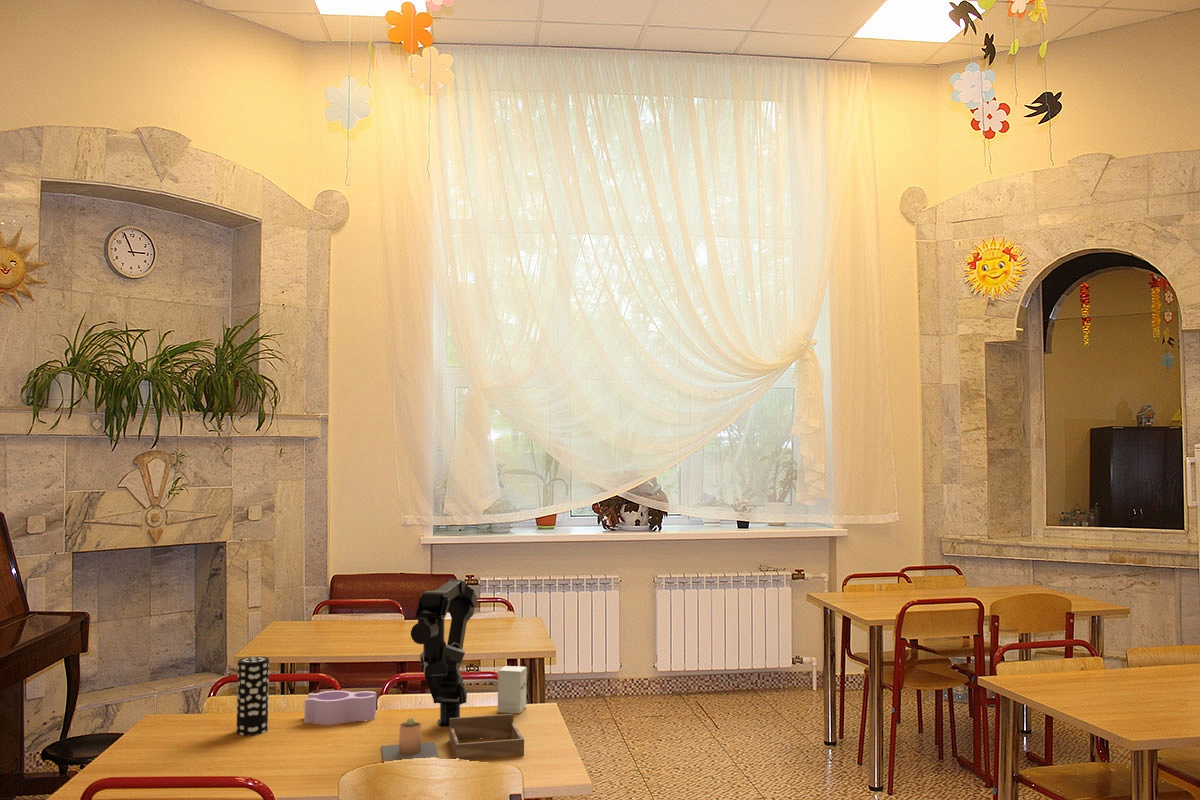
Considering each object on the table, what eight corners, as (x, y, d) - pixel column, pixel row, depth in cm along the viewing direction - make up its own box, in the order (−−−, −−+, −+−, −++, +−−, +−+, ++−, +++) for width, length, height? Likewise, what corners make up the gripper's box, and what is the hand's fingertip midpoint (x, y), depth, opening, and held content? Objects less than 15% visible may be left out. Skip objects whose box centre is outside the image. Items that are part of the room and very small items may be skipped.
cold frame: (449, 740, 258) (449, 718, 258) (512, 735, 262) (512, 713, 263) (456, 760, 241) (456, 736, 241) (524, 755, 245) (524, 731, 246)
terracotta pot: (398, 749, 249) (399, 716, 249) (419, 747, 250) (420, 714, 250) (399, 755, 243) (400, 721, 244) (421, 754, 245) (421, 720, 245)
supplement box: (520, 714, 284) (520, 671, 285) (496, 712, 286) (497, 670, 287) (527, 707, 292) (527, 666, 292) (504, 706, 293) (504, 665, 294)
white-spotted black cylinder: (229, 733, 264) (231, 661, 266) (251, 725, 272) (252, 655, 273) (253, 736, 261) (254, 664, 262) (274, 728, 269) (275, 658, 270)
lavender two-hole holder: (377, 712, 287) (377, 689, 288) (373, 723, 275) (373, 699, 275) (309, 714, 284) (309, 691, 285) (302, 726, 272) (303, 702, 272)
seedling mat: (381, 747, 251) (381, 745, 251) (434, 743, 255) (434, 741, 255) (383, 764, 238) (383, 762, 238) (439, 759, 242) (439, 757, 242)
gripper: (466, 642, 255) (466, 700, 254) (459, 629, 273) (458, 684, 272) (425, 644, 252) (424, 703, 251) (420, 631, 270) (419, 686, 269)
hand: (433, 694), depth 261 cm, fingers open, 9 cm apart
